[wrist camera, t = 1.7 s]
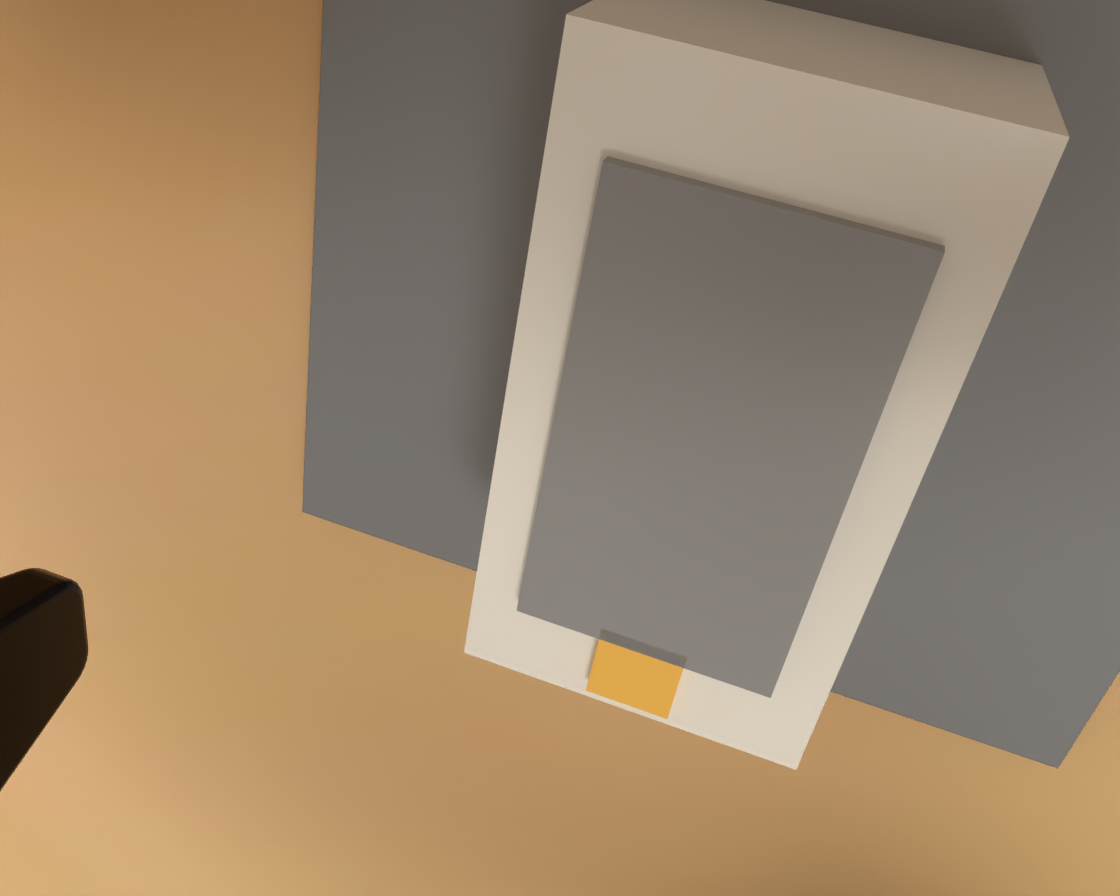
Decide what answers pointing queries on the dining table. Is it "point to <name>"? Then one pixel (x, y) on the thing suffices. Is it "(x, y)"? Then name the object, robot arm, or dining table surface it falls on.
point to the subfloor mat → (493, 304)
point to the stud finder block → (741, 347)
